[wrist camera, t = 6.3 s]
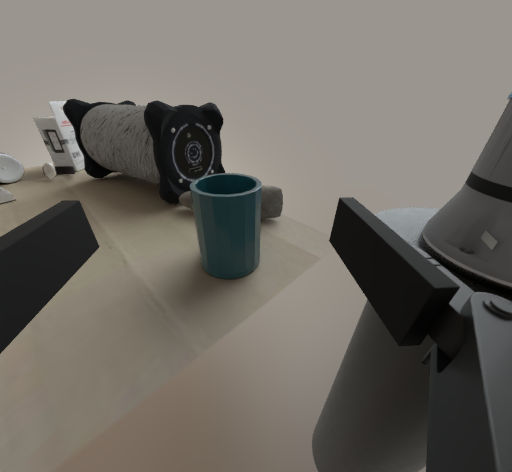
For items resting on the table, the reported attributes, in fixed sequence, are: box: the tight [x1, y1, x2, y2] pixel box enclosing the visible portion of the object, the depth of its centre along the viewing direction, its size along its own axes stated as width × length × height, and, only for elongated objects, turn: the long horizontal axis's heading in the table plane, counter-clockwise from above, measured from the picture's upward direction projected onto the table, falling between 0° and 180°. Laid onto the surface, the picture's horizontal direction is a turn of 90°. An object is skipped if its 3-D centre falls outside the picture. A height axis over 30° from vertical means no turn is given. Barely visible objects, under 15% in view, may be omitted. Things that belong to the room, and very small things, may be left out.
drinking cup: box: [189, 173, 262, 279], centre depth 23 cm, size 7×7×9 cm
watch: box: [43, 163, 75, 180], centre depth 49 cm, size 8×5×4 cm, turn 71°
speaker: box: [63, 99, 225, 204], centre depth 43 cm, size 15×28×15 cm, turn 57°
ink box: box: [33, 101, 85, 171], centre depth 53 cm, size 8×5×15 cm, turn 2°
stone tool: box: [179, 186, 283, 218], centre depth 34 cm, size 17×3×5 cm, turn 82°
